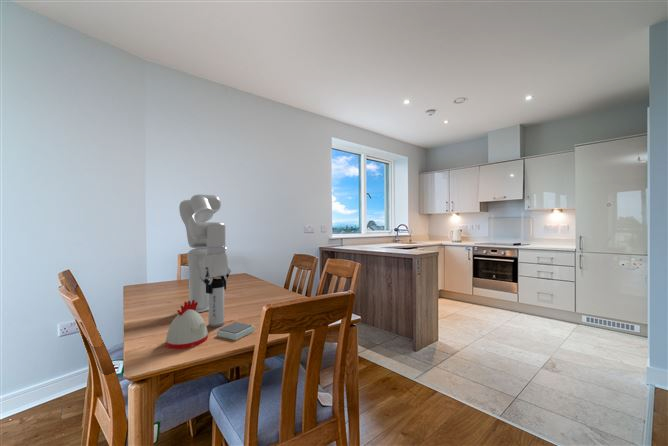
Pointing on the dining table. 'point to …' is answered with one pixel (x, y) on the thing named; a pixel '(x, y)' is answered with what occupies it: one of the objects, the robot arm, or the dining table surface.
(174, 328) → the kitchen timer
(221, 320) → the travel mug
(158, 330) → the dining table surface
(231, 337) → the stand
